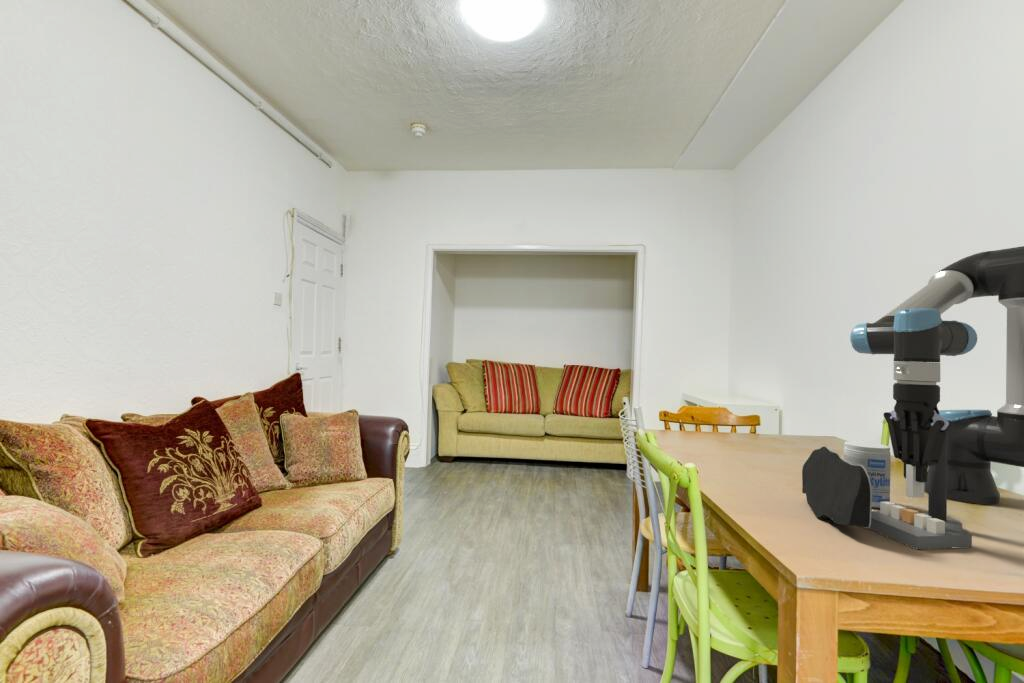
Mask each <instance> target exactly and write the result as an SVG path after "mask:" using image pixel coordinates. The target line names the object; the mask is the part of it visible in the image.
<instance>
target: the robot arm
mask: <svg viewBox="0 0 1024 683" xmlns="http://www.w3.org/2000/svg"><path fill="white" fill-rule="evenodd" d="M981 297H998V298H997V299H998V301H997V302H998V303H999V304H1001V305H1002V306H1004V307H1005V309H1006V350H1005V351H1006V352H1005V353H1006V360H1005V361H1006V364H1005V366H1006V367H1005V368H1006V369H1005V370H1006V372H1005V374H1006V375H1005V380H1006V381H1005V385H1006V386H1005V404H1004V405H1002V406H1001V407H999V409H997V411H996V416H995V415H993V413H992V411H991V410H990V409H943V410H942V409H941V410H939V408H938V404H939V403H940V402H941V387H940V385H939V384H937V383H940V382H941V356H945V357H946V356H947V357H950V356H951V357H956V356H961V355H965V354H967V353H969V352H970V351H972V350H973V349H974V348H975V346H976V345H977V343H978V333H977V331H976V330H975V329H974V328H973V326H971V325H969V324H968V323H966V322H963V321H958V320H954V319H953V320H942V319H943V318H942V316H941V315H942V314H943V313H945V312H946V311H948V310H949V309H950V308H951V307H952V306H954V305H960V304H962V303H964V302H967V301H968V300H969V299H974V298H981ZM849 339H850V343H851V347H852V348H853V350H854V351H855V352H857V353H859V354H869V355H874V356H875V355H893V380H894V381H896V382H894V383H893V385H892V387H893V388H892V395H893V396H892V398H893V400H895V404H894V407H893V410H891V411H889V412H884V413H883V418H884V419H885V421H886V424H887V426H888V432H889V438H890V441H891V442H890V443H891V447H892V452H893V456H894V458H895V459H899V460H900V461H901V462H902V463H903V478H904V479H905V496H906V497H909V498H912V499H913V498H918V499H919V498H925V492H926V493H928V494H929V466H932V465H938V463H939V459H940V455H941V452H942V448H943V444H944V440H945V437H946V433H947V500H948V499H949V500H952V501H957V502H964V503H971V504H980V505H995V504H1000V503H1001V493H1000V491H999V490H998V487H997V485H996V482H995V478H994V476H993V474H992V471H991V470H992V469H991V462H992V463H995V464H996V463H997V464H1003V465H1009V466H1014V467H1020V468H1024V245H1022V246H1017V247H1009V248H1004V249H1003V248H1002V249H997V250H996V249H995V250H988V251H987V250H986V251H982V252H978V253H974V254H972V255H969V256H965V257H964V258H961V259H959V260H957V261H955V262H953V263H951V264H949V265H947V266H946V267H943V268H942V269H940V270H939V271H938V272H936V273H935V274H933V275H932V276H931V277H930V279H929V280H928V282H927V285H925V286H924V287H923V288H921V289H919V290H918V291H916V292H915V293H914V294H913V295H911V296H910V297H909V298H907V299H906V300H904V301H903V302H902V303H900V304H899V305H897V306H896V307H895V308H893V309H892V310H890V311H889V312H888V313H886V314H885V315H884V316H882V317H881V318H880V319H878V320H877V321H875V322H872V323H871V322H865V323H860V324H856V325H855V326H853V328H852V330H851V332H850V338H849Z"/></svg>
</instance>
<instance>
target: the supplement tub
mask: <svg viewBox="0 0 1024 683" xmlns="http://www.w3.org/2000/svg"><path fill="white" fill-rule="evenodd" d="M843 459H844V460H845V461H847V462H849V463H851V464H854V465H862V466H863V467H864V468H865V469H866V471H867V473H868V475H869V478H870V482H871V488H872V508H871V509H873V508H874V509H880V502H891V501H890V500H891V461H892V460H891V447H890V446H889V445H885V444H882V443H881V444H880V443H875V442H870V441H869V442H867V441H855V440H854V441H853V440H852V441H851V440H849V441H845V442H844V447H843Z"/></svg>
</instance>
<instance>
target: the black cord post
mask: <svg viewBox="0 0 1024 683" xmlns="http://www.w3.org/2000/svg"><path fill="white" fill-rule="evenodd" d="M928 470H929V493H928V506H927V507H928V508H927V509H928V510H927V511H928V512H927V513H926V512H924V513H923V512H919V514H925V515H928V516H931V517H932V518H937V519H940V520H942V521H945V525H946V526H949V527H952V528H954V529H957V530H960V531H963V523H962V522H961V521H960V520H957V519H956V518H955V519H954V518H952V517H948V515H947V514H948V513H947V512H948V511H947V510H948V508H947V507H948V505H947V504H948V503H947V501H948V499H947V433H946V437H945V440H944V444H943V448H942V452H941V455H940V459H939V463H938V465H932V466H928Z"/></svg>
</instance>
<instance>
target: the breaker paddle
mask: <svg viewBox="0 0 1024 683" xmlns="http://www.w3.org/2000/svg"><path fill="white" fill-rule="evenodd" d="M919 513H920V512H919V511H918V510H915V509H912V508H907V509H902V521H904V522H907V523H910V524H914V514H919Z"/></svg>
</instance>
